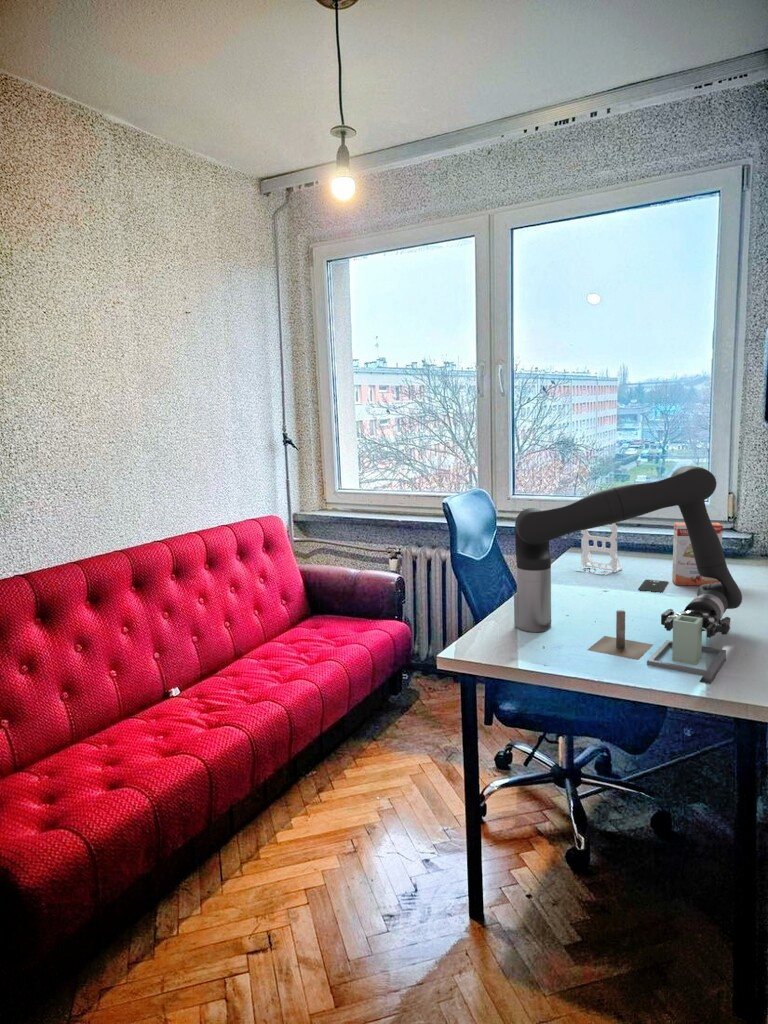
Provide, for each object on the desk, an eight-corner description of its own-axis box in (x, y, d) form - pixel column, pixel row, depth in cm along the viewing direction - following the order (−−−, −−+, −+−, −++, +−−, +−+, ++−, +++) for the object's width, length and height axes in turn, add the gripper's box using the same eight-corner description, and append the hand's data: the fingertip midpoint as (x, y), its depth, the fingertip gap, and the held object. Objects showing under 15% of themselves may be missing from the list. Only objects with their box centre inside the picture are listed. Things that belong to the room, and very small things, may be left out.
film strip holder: (571, 571, 237) (571, 519, 234) (589, 564, 246) (590, 514, 243) (606, 576, 226) (606, 522, 224) (624, 569, 235) (625, 517, 233)
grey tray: (646, 671, 141) (647, 660, 140) (666, 649, 153) (666, 640, 153) (710, 684, 132) (710, 672, 132) (725, 660, 145) (726, 650, 144)
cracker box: (675, 585, 210) (676, 524, 207) (671, 581, 216) (673, 521, 213) (721, 586, 207) (723, 524, 204) (716, 582, 212) (718, 521, 210)
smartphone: (668, 583, 215) (668, 581, 215) (662, 594, 202) (662, 591, 202) (645, 581, 219) (645, 579, 219) (637, 591, 206) (637, 589, 206)
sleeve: (672, 662, 142) (673, 620, 141) (677, 655, 146) (678, 614, 145) (695, 667, 139) (697, 624, 138) (701, 660, 143) (702, 618, 142)
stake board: (587, 655, 151) (587, 613, 150) (604, 641, 160) (604, 601, 159) (638, 666, 144) (638, 622, 142) (653, 650, 153) (654, 608, 152)
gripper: (674, 593, 158) (655, 609, 146) (737, 601, 149) (723, 619, 137) (673, 621, 159) (654, 640, 147) (736, 631, 150) (722, 651, 138)
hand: (687, 629), depth 142 cm, fingers open, 8 cm apart
